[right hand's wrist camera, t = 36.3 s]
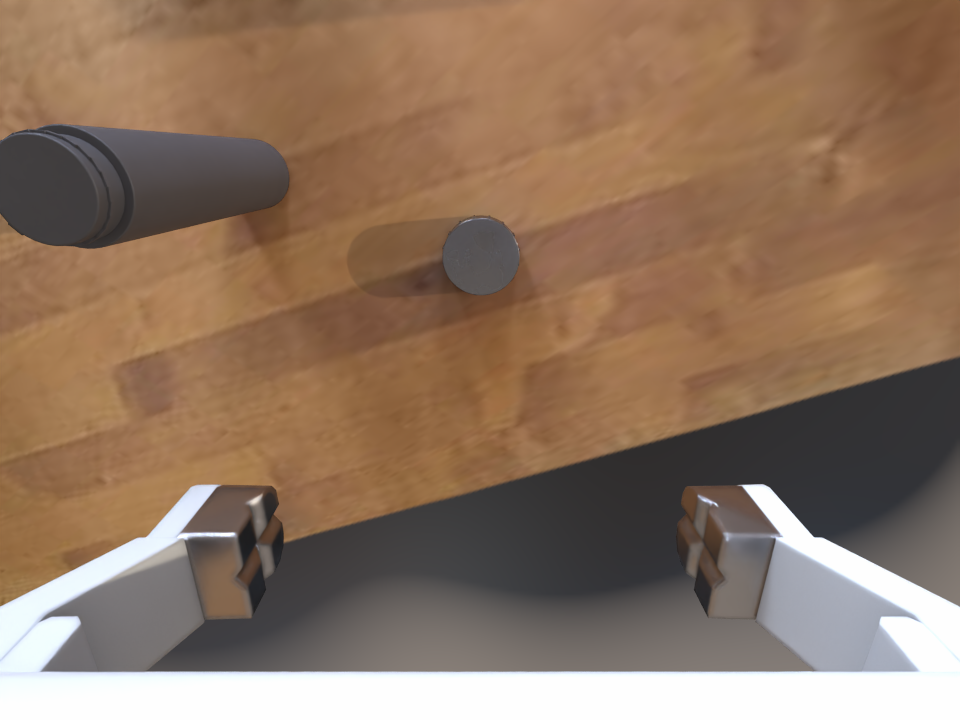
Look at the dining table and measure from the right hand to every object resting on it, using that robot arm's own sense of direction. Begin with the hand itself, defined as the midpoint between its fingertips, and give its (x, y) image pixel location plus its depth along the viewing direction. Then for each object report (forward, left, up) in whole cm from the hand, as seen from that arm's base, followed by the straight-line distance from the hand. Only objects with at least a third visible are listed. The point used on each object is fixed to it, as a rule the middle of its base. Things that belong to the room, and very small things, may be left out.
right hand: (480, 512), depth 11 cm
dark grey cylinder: (-3, -17, -31) cm, 35 cm away
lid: (0, 0, -29) cm, 29 cm away
